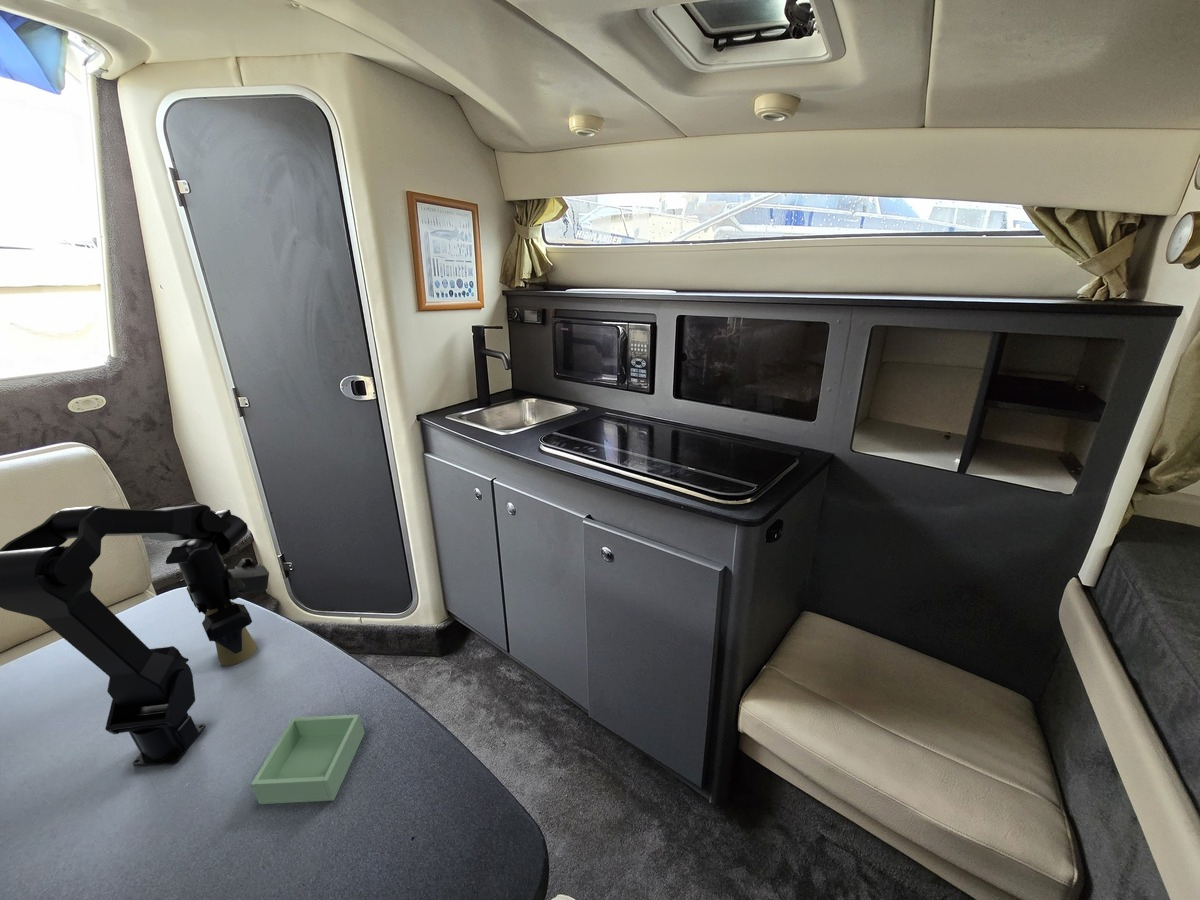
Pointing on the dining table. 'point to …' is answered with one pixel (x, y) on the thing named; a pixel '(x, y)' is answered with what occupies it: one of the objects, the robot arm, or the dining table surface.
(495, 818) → the dining table surface
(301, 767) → the tray
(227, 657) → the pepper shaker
